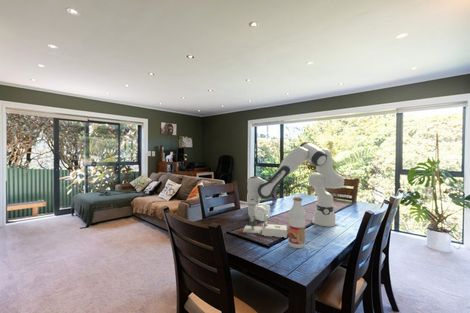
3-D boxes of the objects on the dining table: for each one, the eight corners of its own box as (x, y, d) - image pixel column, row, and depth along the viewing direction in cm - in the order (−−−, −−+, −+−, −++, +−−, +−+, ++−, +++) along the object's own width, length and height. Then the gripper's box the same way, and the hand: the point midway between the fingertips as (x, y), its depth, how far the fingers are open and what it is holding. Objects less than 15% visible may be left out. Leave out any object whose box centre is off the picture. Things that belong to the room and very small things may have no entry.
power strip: (262, 230, 155) (263, 222, 155) (286, 232, 151) (286, 224, 151) (261, 235, 146) (261, 227, 146) (286, 237, 143) (287, 229, 142)
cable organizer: (270, 219, 181) (271, 205, 180) (263, 222, 173) (263, 207, 173) (256, 215, 191) (256, 202, 190) (248, 218, 183) (248, 204, 183)
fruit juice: (306, 249, 127) (307, 200, 126) (289, 248, 127) (291, 199, 127) (302, 242, 136) (303, 196, 136) (287, 241, 137) (288, 196, 136)
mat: (245, 226, 163) (245, 225, 163) (262, 227, 160) (262, 226, 160) (242, 232, 151) (242, 231, 151) (260, 233, 149) (260, 232, 149)
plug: (250, 227, 158) (250, 216, 158) (260, 228, 157) (260, 217, 157) (249, 229, 154) (249, 218, 154) (260, 230, 152) (260, 219, 152)
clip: (263, 225, 149) (263, 215, 149) (264, 220, 160) (264, 210, 160) (267, 226, 148) (267, 215, 148) (267, 221, 159) (268, 211, 159)
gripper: (251, 196, 166) (250, 214, 166) (246, 202, 146) (246, 223, 146) (259, 196, 165) (259, 215, 165) (256, 202, 145) (255, 224, 145)
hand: (253, 219), depth 156 cm, fingers open, 8 cm apart
